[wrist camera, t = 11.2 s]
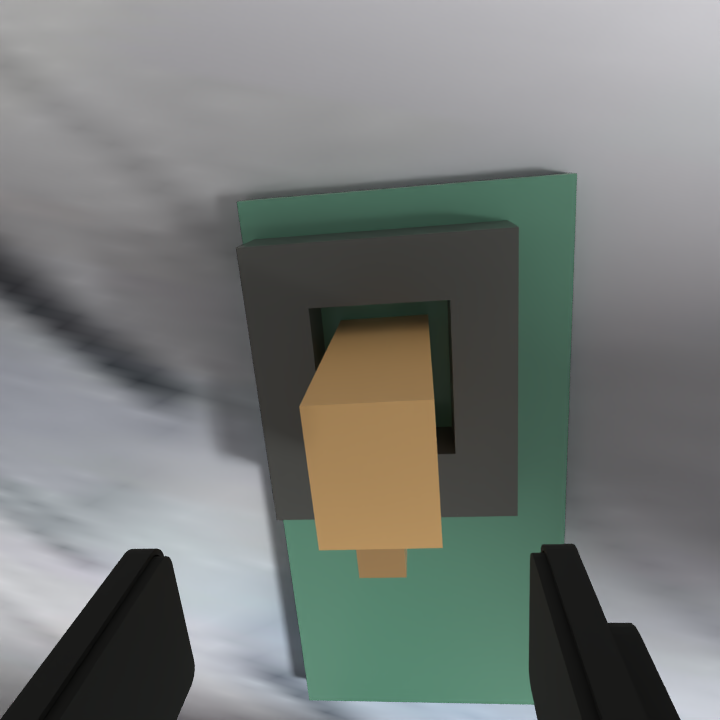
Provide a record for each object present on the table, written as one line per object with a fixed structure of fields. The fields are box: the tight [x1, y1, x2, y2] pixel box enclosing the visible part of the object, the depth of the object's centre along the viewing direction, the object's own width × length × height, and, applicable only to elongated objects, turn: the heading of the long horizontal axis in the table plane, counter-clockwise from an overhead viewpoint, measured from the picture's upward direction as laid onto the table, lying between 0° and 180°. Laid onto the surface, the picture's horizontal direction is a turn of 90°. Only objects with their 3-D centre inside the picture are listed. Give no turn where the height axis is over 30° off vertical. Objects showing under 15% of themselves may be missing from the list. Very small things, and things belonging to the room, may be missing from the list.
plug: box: [299, 314, 443, 578], centre depth 20 cm, size 4×6×9 cm, turn 5°
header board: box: [236, 173, 577, 705], centre depth 25 cm, size 13×26×4 cm, turn 5°
